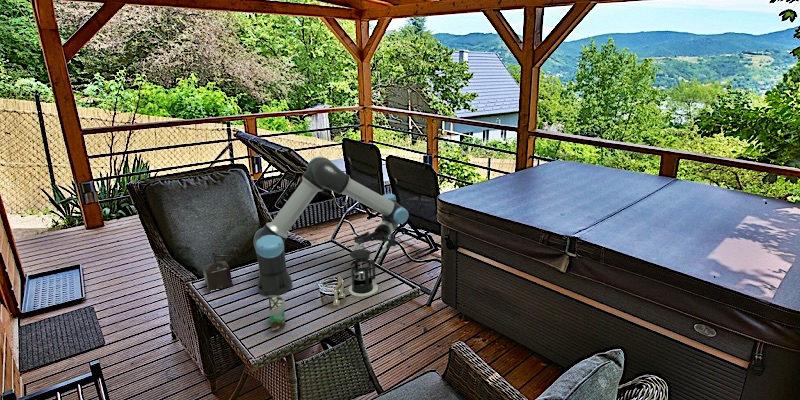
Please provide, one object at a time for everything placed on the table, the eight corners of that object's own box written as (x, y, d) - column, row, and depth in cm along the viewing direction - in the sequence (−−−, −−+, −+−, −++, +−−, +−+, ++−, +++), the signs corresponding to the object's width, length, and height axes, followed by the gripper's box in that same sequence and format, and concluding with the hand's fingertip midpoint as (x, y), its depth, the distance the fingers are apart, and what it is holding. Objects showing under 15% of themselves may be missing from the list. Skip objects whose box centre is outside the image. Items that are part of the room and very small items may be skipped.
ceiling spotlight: (333, 305, 186) (332, 290, 184) (338, 289, 199) (337, 275, 197) (342, 305, 186) (341, 290, 184) (347, 289, 199) (345, 275, 197)
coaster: (346, 297, 192) (346, 295, 192) (350, 282, 205) (350, 281, 205) (377, 296, 192) (377, 295, 192) (379, 281, 204) (378, 280, 204)
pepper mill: (209, 293, 199) (203, 256, 194) (204, 284, 208) (198, 248, 203) (245, 283, 207) (239, 247, 202) (239, 274, 216) (233, 240, 211)
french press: (357, 296, 191) (353, 246, 184) (346, 288, 199) (342, 239, 192) (380, 287, 198) (377, 239, 191) (369, 280, 205) (366, 233, 198)
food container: (289, 331, 170) (286, 308, 167) (272, 334, 168) (268, 311, 165) (287, 314, 181) (284, 292, 178) (271, 317, 179) (268, 295, 176)
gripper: (408, 240, 220) (395, 258, 200) (360, 236, 227) (344, 253, 207) (407, 225, 217) (395, 242, 198) (359, 222, 224) (342, 238, 205)
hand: (369, 248), depth 203 cm, fingers open, 13 cm apart
